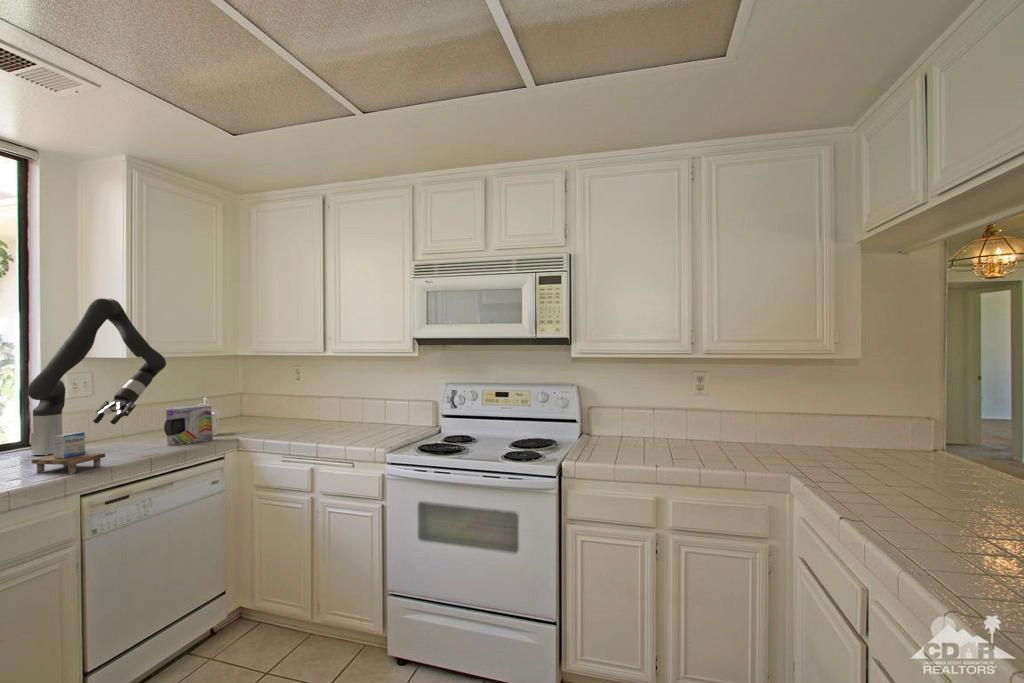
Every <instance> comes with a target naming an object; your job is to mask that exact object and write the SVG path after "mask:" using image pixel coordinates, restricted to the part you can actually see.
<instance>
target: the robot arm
mask: <svg viewBox="0 0 1024 683" xmlns="http://www.w3.org/2000/svg"><path fill="white" fill-rule="evenodd" d="M107 320H108V321H109V322H110V323H111V324H112V325H113V326H114V327H115V328H116V329H117V331H118V333H119V335H120V337H121V340H122V341H123V342H124V344H125V346H126V347H127V348H128V350H130V352H131V353H132V354H133V355H134V356H135V357H136V358H142V360H144V361H145V362H144V363H143V364H142V365H141V367H140V368H139V369H138V370H137V372H136V373H134V375H133V376H132V377H131V378H129V380H128V381H126V383H124V385H123V386H121V388H120V389H119V390H118V391H117V392H116V394H114V397H113V400H112V401H108V400H105V401H104V402H103V403H102V404H101V405H100V406H99V407H98V408H97V409H96V410H95V413H97V415H96V416H95V417H94V418H93V419H92V422H93V423H94V424H99V423H100V422H101V421H102V420H103V419H104V417H105V416H107V415H110V414H113V413H116V414H114V416H113V417H112V418H111V419H110V421H109V422H110V423H111V424H112V425H116V424H117V423H118V422H119V421H120V420H121V418H123V417H128V416H130V414H131V413H132V411H133V410H134V409H135V408H136V407H137V405H136V404H135V403H136V401H137V400H138V399H139V398H140V397H141V396H142V394H143V393H144V392H145V390H146V389H147V388H148V386H150V384H151V383H152V381H153V379H154V378H155V377H156V376H157V375H158V374H159V373H160V372H161V371H162V370H163V369H164V368H166V366H167V361H166V359H165V357H164V356H163V355H162V354H161V353H160V352H158V351H157V350H155V349H154V348H152V346H150V344H149V343H148V342H147V341H146V339H145V338H144V337H143V336H142V334H141V333H140V332H139V331H138V330H137V328H136V327H135V326H134V324H133V323H132V321H131V319H130V318H129V317H128V315H127V313H126V312H125V310H124V308H123V307H122V305H121V303H120V302H119V301H118V300H116V299H114V298H108V297H107V298H106V297H99V298H96V299H94V300H92V302H90V304H89V305H88V307H87V309H86V310H85V313H84V314H83V316H82V318H81V320H80V321H79V322H78V323H77V325H76V326H75V327H74V328H73V330H72V331H71V333H69V335H68V336H67V338H66V339H65V340H64V341H63V343H61V346H59V348H58V349H57V351H56V353H55V354H54V355H53V356H52V358H51V359H50V360H49V362H48V363H47V365H46V366H45V367H44V368H43V369H42V370H41V371H40V372H39V374H38V375H36V376H35V378H34V379H33V380H32V381H31V382H30V383H29V385H28V387H27V394H28V397H30V398H31V399H32V400H35V401H39V403H38V405H37V406H36V407H34V409H33V410H32V432H31V434H30V438H31V440H30V443H31V448H30V449H31V453H30V454H33V455H45V456H49V455H48V454H52V455H54V436H58V435H63V409H64V407H65V402H66V386H65V383H64V382H63V380H61V379H62V378H63V376H64V375H65V374H67V372H69V371H70V370H72V369H73V368H75V367H76V366H77V365H78V364H80V363H81V362H82V361H83V360H84V359H85V358H86V356H87V355H88V354H89V352H90V351H91V349H92V348H93V346H94V343H95V340H96V338H97V336H96V335H97V334H98V331H99V330H100V328H101V327H102V325H103V324H104V323H105V322H106V321H107ZM33 455H32V456H33Z"/></svg>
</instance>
